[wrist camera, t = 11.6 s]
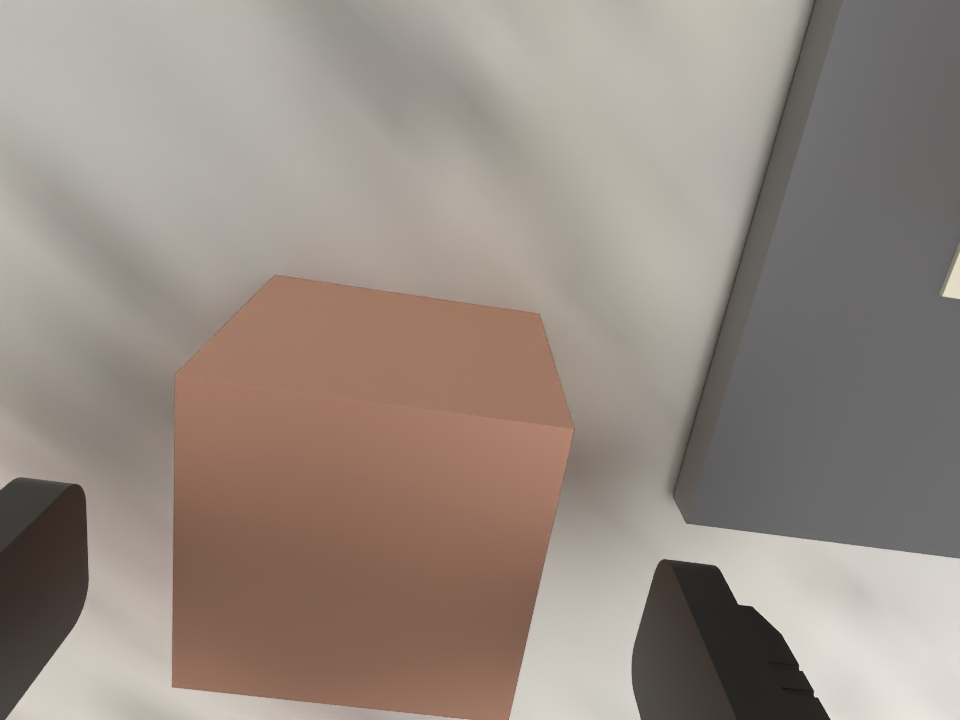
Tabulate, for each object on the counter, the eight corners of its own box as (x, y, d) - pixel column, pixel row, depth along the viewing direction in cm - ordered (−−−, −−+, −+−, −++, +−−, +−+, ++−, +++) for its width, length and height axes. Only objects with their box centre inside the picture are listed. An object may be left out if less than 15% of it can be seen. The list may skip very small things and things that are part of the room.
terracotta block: (276, 274, 14) (174, 374, 9) (539, 312, 14) (574, 429, 9) (262, 502, 15) (171, 686, 11) (496, 532, 16) (507, 723, 11)
